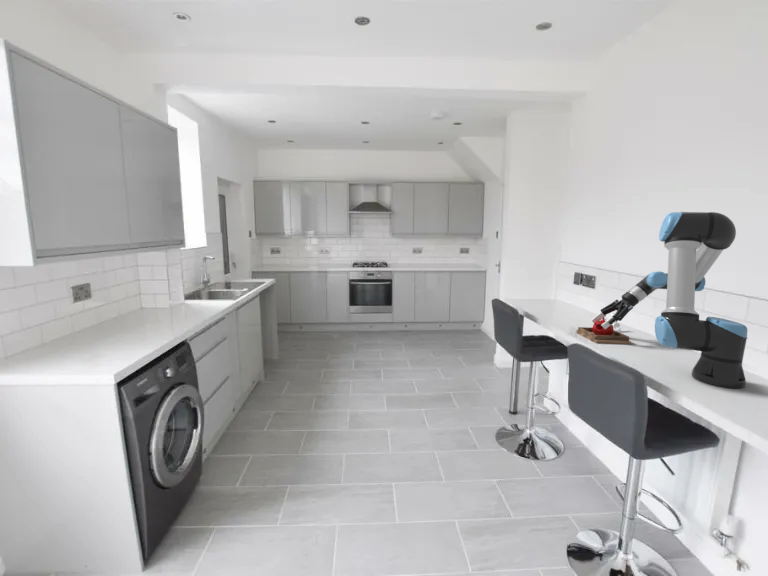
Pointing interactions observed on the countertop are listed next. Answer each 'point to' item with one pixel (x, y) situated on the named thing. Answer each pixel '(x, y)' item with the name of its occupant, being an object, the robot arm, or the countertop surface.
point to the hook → (616, 325)
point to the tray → (604, 336)
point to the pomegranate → (600, 330)
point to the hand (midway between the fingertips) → (597, 324)
